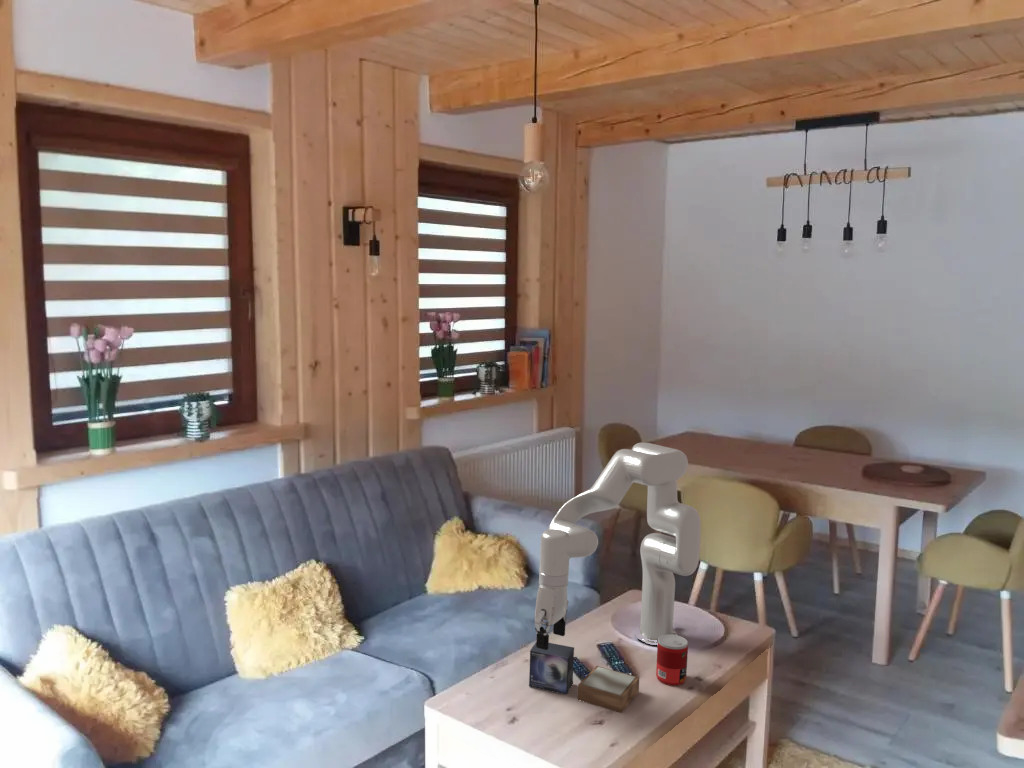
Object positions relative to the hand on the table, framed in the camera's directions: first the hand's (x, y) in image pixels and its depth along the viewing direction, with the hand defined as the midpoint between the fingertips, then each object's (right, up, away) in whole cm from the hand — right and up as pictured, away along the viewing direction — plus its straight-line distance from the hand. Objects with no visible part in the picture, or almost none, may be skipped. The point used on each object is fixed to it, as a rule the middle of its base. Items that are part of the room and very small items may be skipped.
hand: (550, 641), depth 219 cm
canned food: (+33, -13, +7) cm, 36 cm away
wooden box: (+15, -13, -2) cm, 20 cm away
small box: (0, -13, +2) cm, 13 cm away
